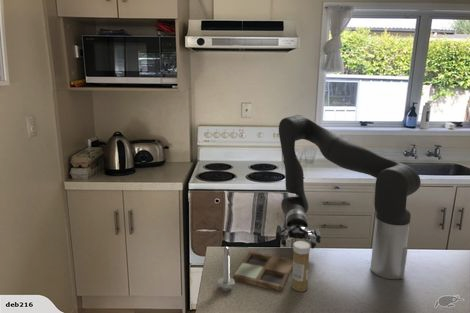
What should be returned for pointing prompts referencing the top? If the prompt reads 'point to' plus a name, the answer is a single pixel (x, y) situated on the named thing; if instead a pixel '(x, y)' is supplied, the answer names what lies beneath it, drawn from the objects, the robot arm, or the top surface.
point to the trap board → (264, 271)
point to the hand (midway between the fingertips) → (298, 244)
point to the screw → (226, 272)
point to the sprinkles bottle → (300, 265)
